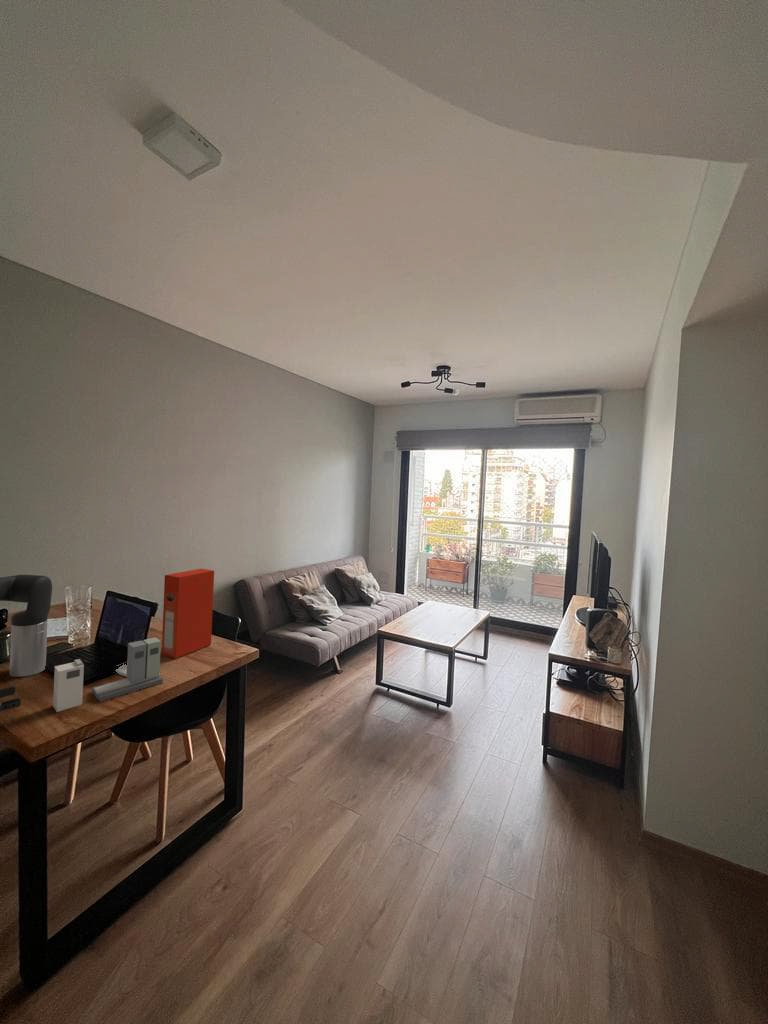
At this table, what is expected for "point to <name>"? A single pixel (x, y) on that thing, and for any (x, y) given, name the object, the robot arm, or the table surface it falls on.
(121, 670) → the external hard drive
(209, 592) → the file binder
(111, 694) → the board
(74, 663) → the block
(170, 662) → the table surface
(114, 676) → the table surface
